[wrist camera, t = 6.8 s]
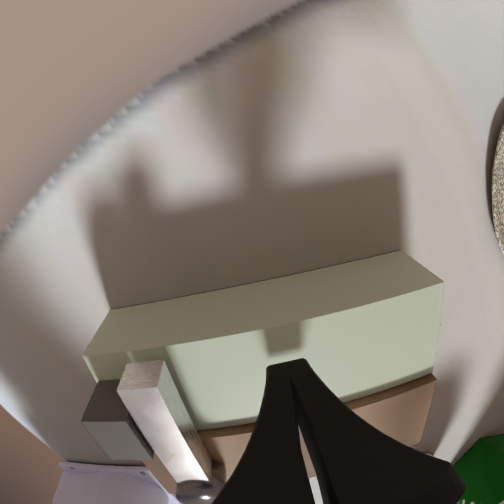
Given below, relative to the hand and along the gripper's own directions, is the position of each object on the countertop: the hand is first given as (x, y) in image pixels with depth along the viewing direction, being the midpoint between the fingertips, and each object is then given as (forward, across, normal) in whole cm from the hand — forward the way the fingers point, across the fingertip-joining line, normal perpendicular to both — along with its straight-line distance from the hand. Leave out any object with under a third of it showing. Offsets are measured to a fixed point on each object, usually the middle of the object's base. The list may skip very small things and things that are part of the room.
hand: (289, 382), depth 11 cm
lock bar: (+1, +5, +3) cm, 6 cm away
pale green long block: (+5, 0, +1) cm, 5 cm away
